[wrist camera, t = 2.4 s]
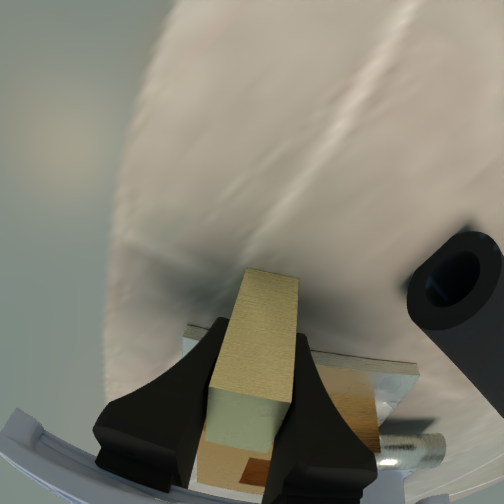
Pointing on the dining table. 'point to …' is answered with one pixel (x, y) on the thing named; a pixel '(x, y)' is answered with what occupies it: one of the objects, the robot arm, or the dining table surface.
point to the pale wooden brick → (255, 364)
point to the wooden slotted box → (350, 408)
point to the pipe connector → (465, 309)
